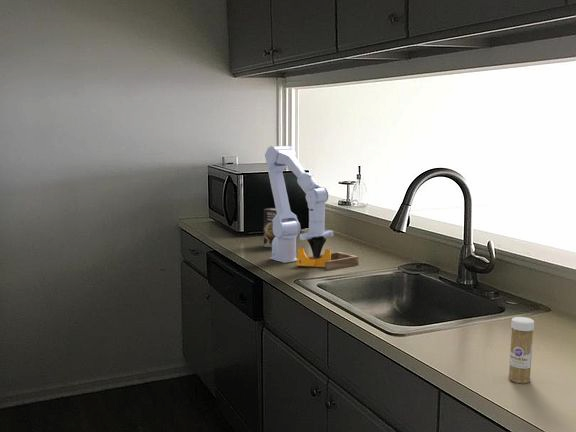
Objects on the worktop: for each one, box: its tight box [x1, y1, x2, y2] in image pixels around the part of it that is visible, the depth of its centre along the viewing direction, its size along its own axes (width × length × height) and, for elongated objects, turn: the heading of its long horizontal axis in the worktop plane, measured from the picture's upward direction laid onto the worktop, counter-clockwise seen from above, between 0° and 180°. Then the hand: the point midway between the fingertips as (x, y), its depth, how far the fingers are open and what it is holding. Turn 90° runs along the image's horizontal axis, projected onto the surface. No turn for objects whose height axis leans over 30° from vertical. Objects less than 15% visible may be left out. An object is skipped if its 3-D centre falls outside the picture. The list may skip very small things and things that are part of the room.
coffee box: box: [263, 207, 286, 248], centre depth 286 cm, size 9×6×16 cm
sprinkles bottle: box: [508, 316, 535, 384], centre depth 143 cm, size 5×5×13 cm
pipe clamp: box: [296, 247, 332, 268], centre depth 249 cm, size 12×4×6 cm, turn 80°
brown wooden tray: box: [307, 251, 359, 271], centre depth 253 cm, size 11×16×3 cm
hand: (316, 257), depth 247 cm, fingers closed, pressing on pipe clamp
